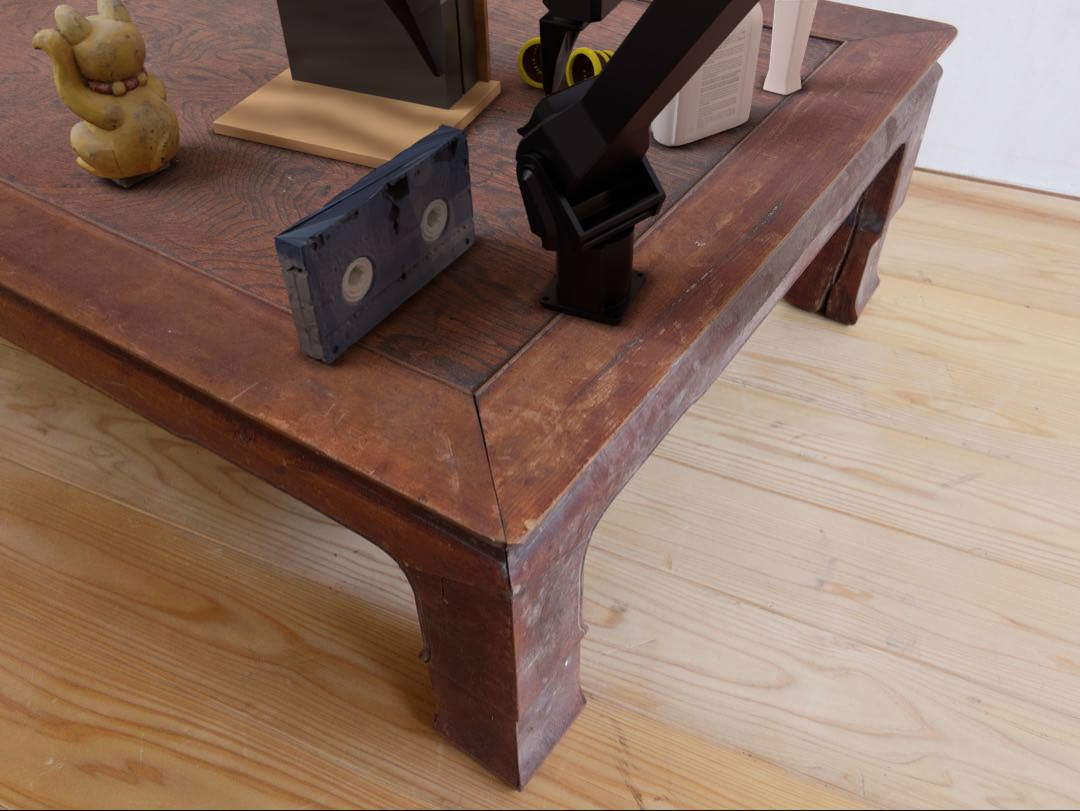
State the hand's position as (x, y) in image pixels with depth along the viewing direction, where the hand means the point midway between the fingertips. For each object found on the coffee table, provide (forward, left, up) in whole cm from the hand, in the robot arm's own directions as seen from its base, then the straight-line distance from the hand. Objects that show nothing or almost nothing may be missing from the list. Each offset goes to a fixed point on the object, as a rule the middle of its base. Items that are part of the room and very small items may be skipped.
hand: (494, 86), depth 72 cm
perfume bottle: (+35, -15, -13) cm, 40 cm away
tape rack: (+14, +22, -13) cm, 29 cm away
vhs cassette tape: (-11, +4, -13) cm, 17 cm away
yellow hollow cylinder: (+27, +5, -13) cm, 31 cm away
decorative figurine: (-3, +35, -13) cm, 37 cm away
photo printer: (+23, -10, -13) cm, 28 cm away
